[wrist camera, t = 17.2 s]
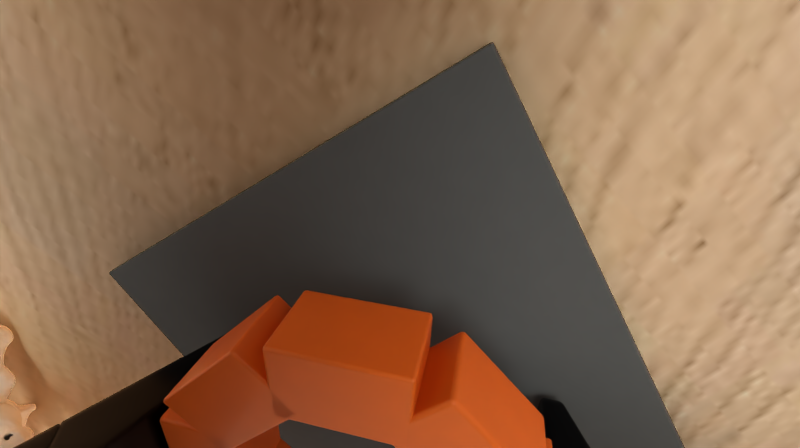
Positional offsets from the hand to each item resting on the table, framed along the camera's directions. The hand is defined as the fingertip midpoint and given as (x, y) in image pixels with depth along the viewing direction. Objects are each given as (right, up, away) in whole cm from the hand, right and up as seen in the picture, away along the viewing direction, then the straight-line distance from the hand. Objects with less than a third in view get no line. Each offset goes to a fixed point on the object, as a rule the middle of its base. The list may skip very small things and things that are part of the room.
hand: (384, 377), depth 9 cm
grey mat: (0, 0, 0) cm, 0 cm away
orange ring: (0, -1, -1) cm, 1 cm away
